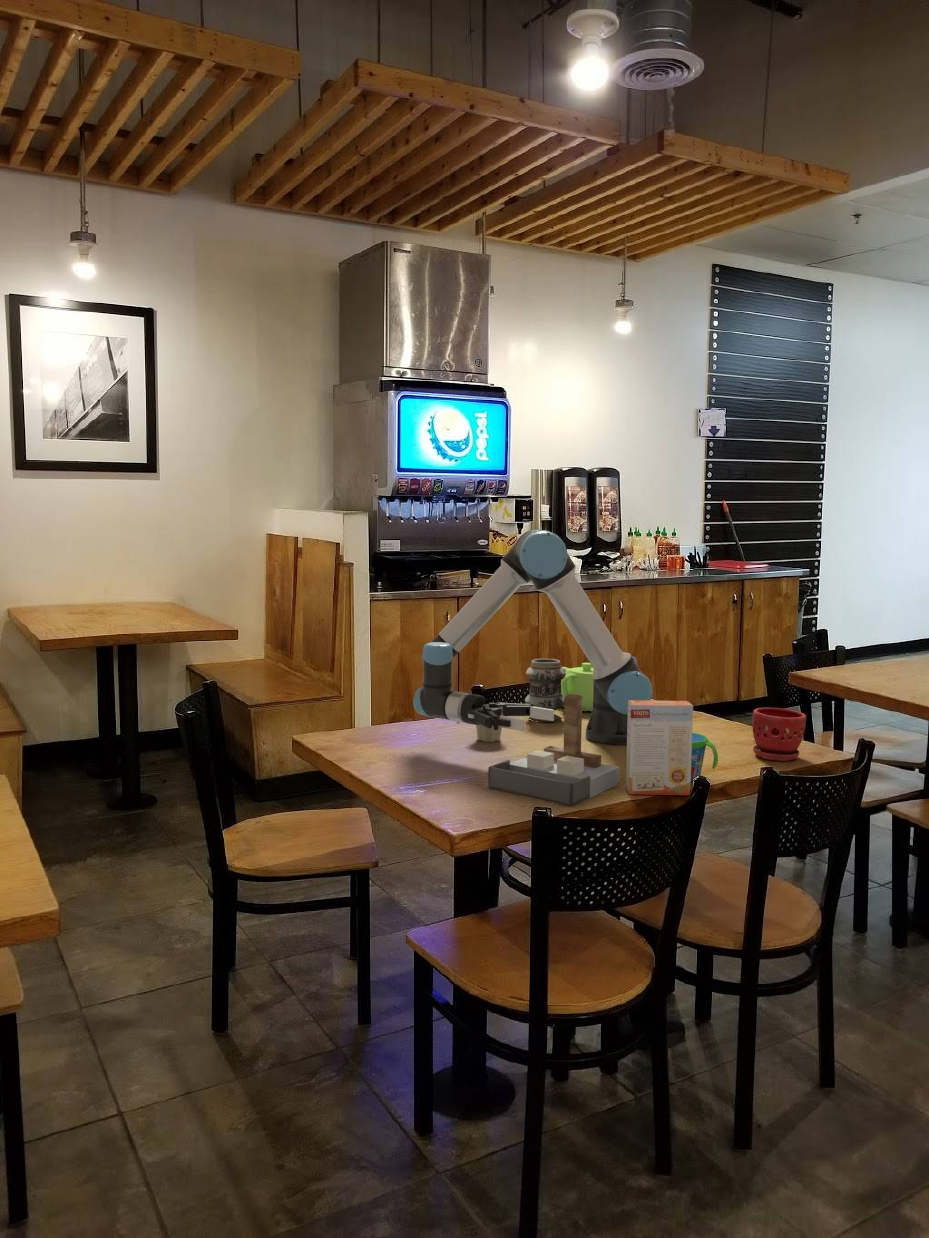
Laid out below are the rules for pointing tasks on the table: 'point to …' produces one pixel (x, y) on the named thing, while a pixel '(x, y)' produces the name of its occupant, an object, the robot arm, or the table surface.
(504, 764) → the box
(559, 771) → the tile
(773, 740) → the plant pot
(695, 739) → the snack cup
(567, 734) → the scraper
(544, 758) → the tile
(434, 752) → the table surface
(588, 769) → the board
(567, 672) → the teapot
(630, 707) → the cracker box
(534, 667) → the apothecary jar
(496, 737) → the flower pot
